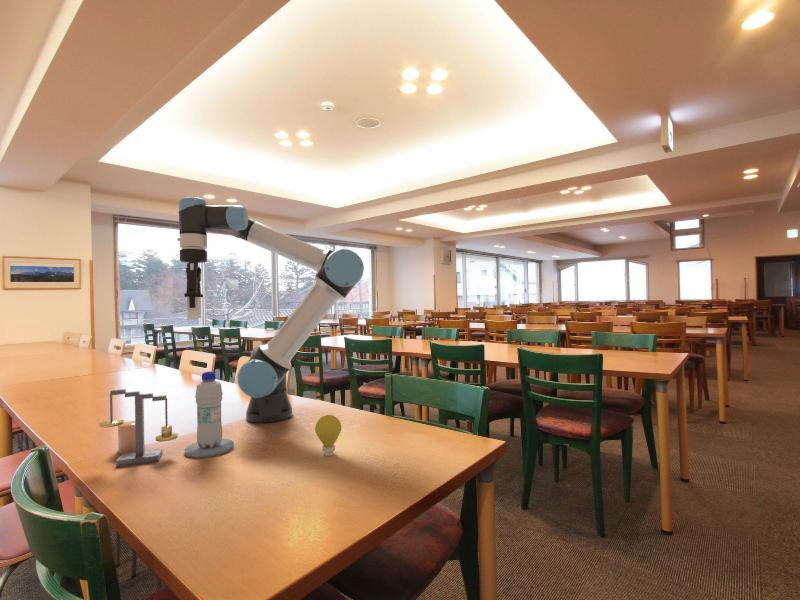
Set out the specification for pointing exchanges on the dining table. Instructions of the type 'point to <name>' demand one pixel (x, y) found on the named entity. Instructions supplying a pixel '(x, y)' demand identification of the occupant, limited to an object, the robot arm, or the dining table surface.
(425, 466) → the dining table surface
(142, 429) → the balance
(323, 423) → the light bulb
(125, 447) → the peach rounded capsule
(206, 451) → the dish
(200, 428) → the bottle
